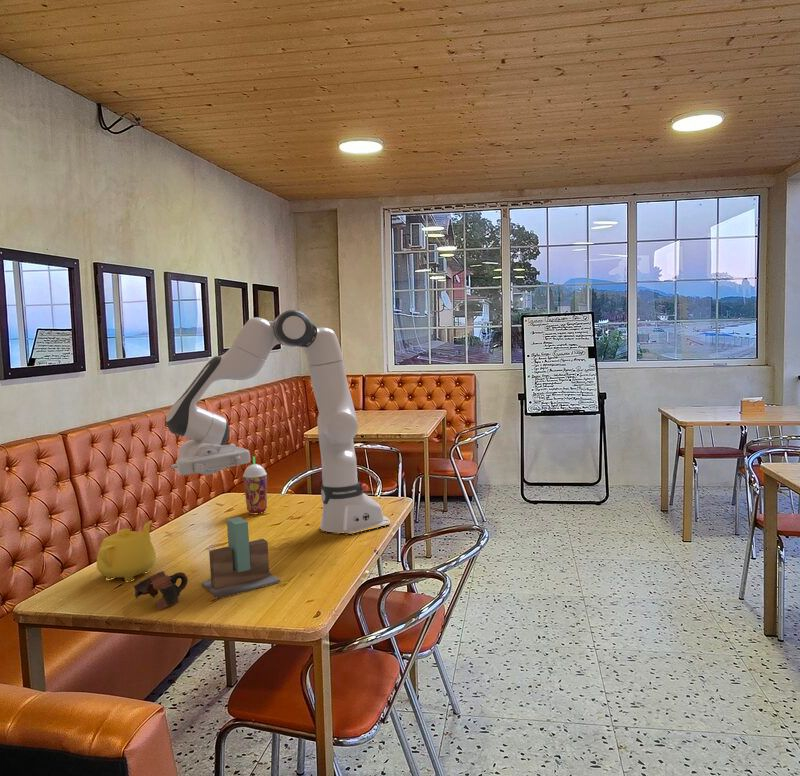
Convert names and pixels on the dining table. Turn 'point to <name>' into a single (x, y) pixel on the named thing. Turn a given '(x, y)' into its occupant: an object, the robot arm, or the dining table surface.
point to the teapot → (126, 554)
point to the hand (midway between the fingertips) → (222, 465)
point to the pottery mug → (162, 588)
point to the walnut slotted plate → (236, 582)
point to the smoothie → (255, 488)
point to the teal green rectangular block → (239, 543)
